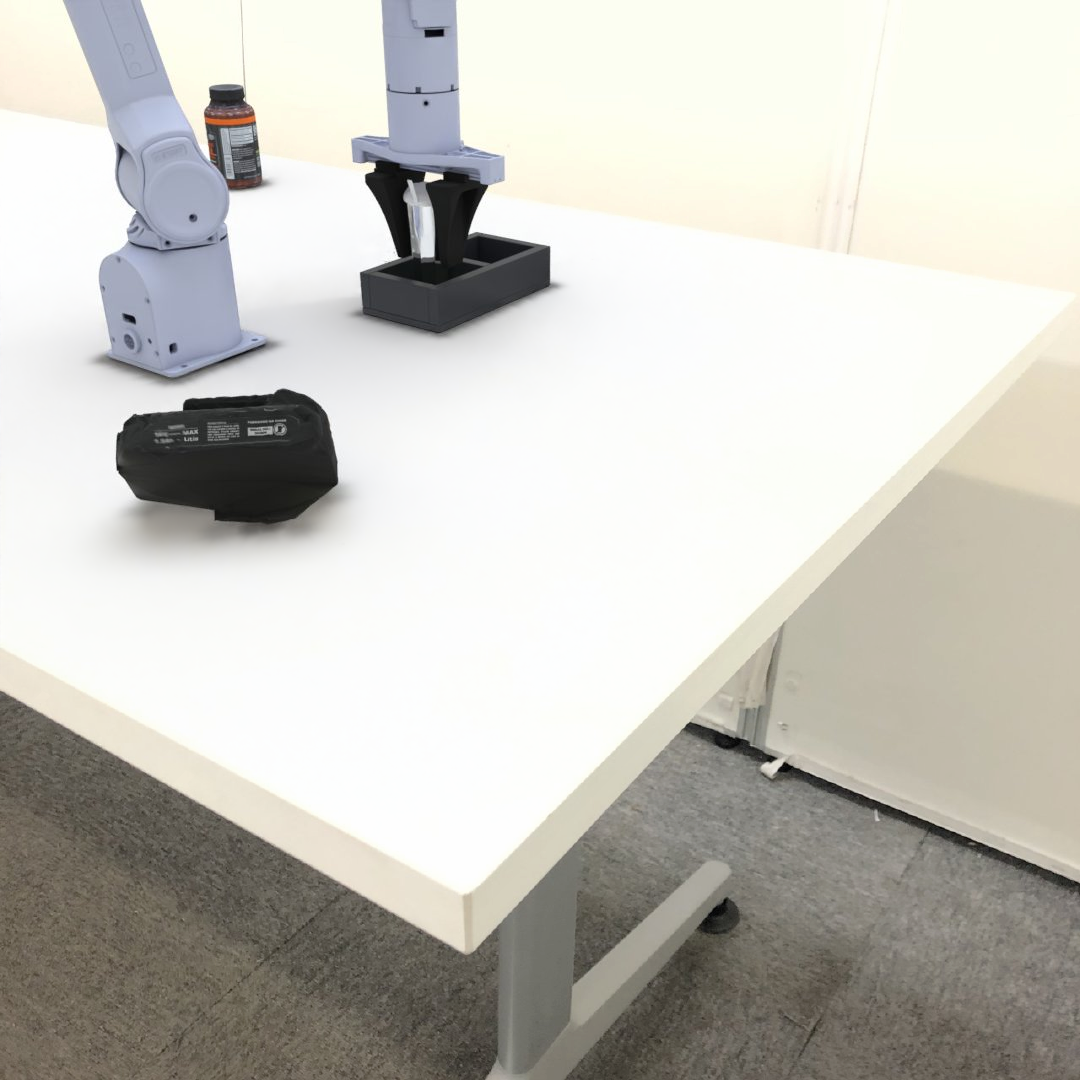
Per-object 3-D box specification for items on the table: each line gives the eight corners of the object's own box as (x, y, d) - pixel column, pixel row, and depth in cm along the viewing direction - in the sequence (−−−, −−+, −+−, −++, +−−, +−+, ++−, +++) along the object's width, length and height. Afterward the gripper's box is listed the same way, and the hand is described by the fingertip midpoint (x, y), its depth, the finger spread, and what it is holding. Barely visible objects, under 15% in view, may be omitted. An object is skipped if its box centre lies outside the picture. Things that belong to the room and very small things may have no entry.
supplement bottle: (209, 181, 139) (195, 84, 134) (257, 177, 141) (245, 81, 136) (218, 191, 135) (205, 91, 129) (268, 187, 137) (256, 88, 131)
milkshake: (392, 297, 95) (385, 176, 90) (426, 280, 99) (421, 164, 94) (437, 306, 93) (433, 183, 88) (470, 288, 98) (468, 170, 92)
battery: (353, 534, 66) (345, 431, 69) (325, 473, 59) (318, 360, 61) (150, 561, 66) (150, 456, 69) (97, 503, 58) (99, 387, 61)
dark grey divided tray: (550, 285, 103) (550, 246, 101) (439, 333, 92) (437, 290, 90) (477, 269, 107) (476, 231, 106) (362, 313, 96) (359, 272, 94)
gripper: (527, 90, 87) (527, 263, 94) (387, 74, 94) (397, 236, 101) (471, 102, 82) (475, 284, 89) (328, 84, 89) (342, 254, 96)
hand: (430, 260), depth 95 cm, fingers closed on milkshake, 4 cm apart
